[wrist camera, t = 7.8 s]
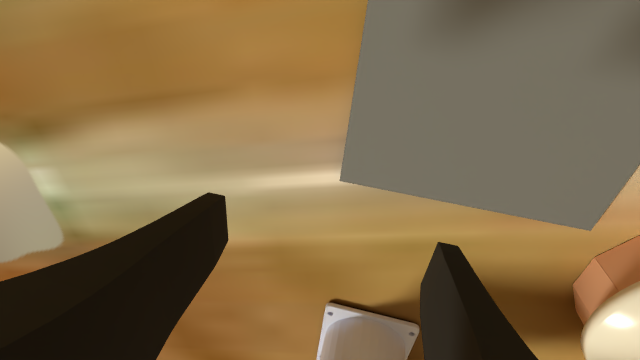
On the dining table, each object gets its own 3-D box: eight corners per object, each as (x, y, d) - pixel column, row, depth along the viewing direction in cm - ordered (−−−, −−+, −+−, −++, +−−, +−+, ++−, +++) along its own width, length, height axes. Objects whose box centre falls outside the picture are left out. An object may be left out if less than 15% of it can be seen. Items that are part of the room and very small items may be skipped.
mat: (586, 225, 19) (590, 230, 19) (340, 176, 21) (339, 180, 21) (824, -104, 11) (841, -108, 11) (390, -136, 13) (390, -140, 12)
